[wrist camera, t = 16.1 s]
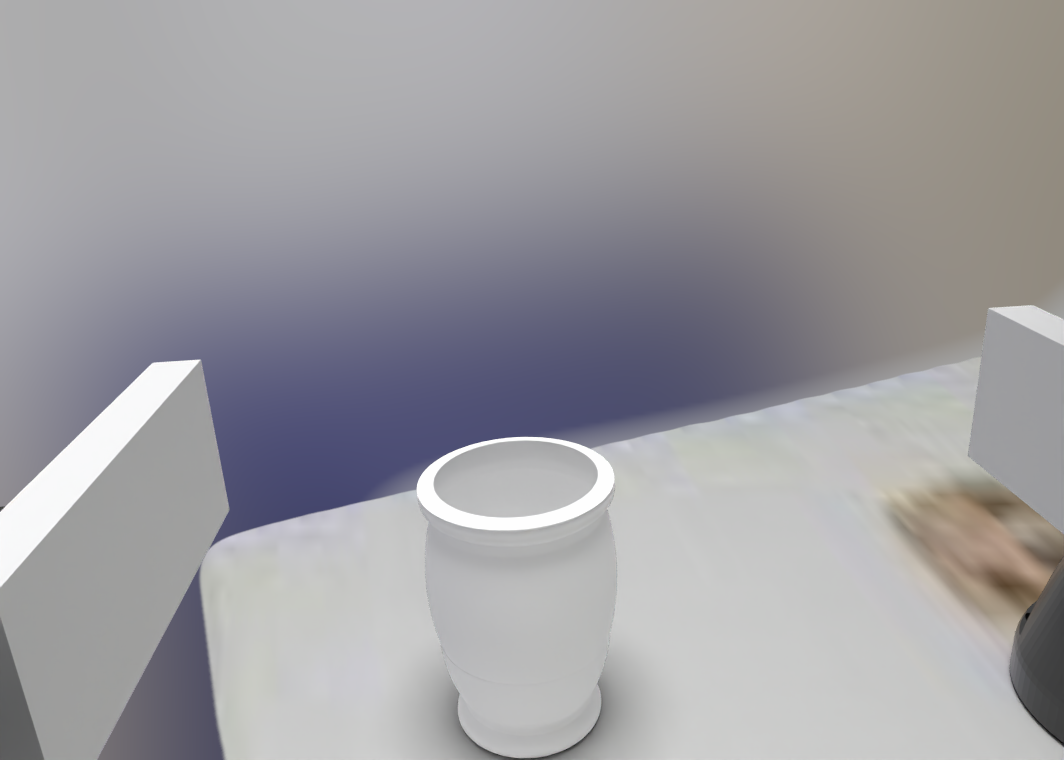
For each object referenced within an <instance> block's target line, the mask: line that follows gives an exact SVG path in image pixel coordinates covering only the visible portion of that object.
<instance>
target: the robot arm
mask: <svg viewBox="0 0 1064 760" xmlns="http://www.w3.org/2000/svg"><path fill="white" fill-rule="evenodd" d="M968 456H969V457H970V458H971V459H972V460H973V461H975V462H976V463H977V464H978V465H980V466H981V467H982V468H983V469H984V470H986V471H987V472H988V473H989V474H991V475H992V476H993V477H994V478H996V479H997V480H998V481H999V482H1000V483H1002V484H1003V485H1004V486H1005V487H1007V488H1008V489H1009V490H1010V491H1011V492H1013V493H1014V494H1015V495H1016V496H1018V497H1019V498H1020V499H1021V500H1023V501H1024V502H1025V503H1026V504H1027V505H1029V506H1030V507H1031V508H1032V509H1034V510H1035V511H1036V512H1037V513H1039V514H1040V515H1041V516H1042V517H1043V518H1045V519H1046V520H1047V521H1048V522H1050V523H1051V524H1052V525H1053V526H1054V527H1056V528H1057V529H1058V530H1059V531H1061V532H1062V533H1063V534H1064V319H1062V318H1059V317H1057V316H1055V315H1053V314H1051V313H1048V312H1046V311H1044V310H1042V309H1039V308H1037V307H1035V306H1033V305H1029V306H1014V307H999V308H988V314H987V321H986V329H985V336H984V343H983V350H982V358H981V365H980V372H979V379H978V386H977V394H976V401H975V408H974V415H973V423H972V430H971V437H970V444H969V451H968ZM228 511H229V505H228V500H227V495H226V489H225V484H224V479H223V474H222V468H221V463H220V458H219V453H218V447H217V442H216V437H215V431H214V426H213V421H212V416H211V410H210V405H209V400H208V395H207V389H206V385H205V379H204V374H203V368H202V363H201V360H191V361H175V362H159V363H152V364H151V365H150V366H149V367H148V368H147V369H146V370H145V372H143V373H142V374H141V375H140V376H139V377H138V378H137V379H136V380H135V381H134V382H133V383H132V384H131V385H130V386H129V387H128V388H127V389H126V390H125V391H124V392H123V393H122V394H121V395H120V396H119V397H118V398H116V399H115V400H114V401H113V402H112V403H111V404H110V405H109V406H108V407H107V408H106V409H105V410H104V411H103V412H102V413H101V414H100V415H99V416H98V417H97V418H96V419H95V420H94V421H93V422H92V423H91V424H90V425H89V426H88V427H87V428H86V429H85V430H84V431H83V432H82V433H81V434H80V435H78V436H77V437H76V438H75V439H74V440H73V441H72V442H71V443H70V444H69V445H68V446H67V447H66V448H65V449H64V450H63V451H62V452H61V453H60V454H59V455H58V456H57V457H56V458H55V459H54V460H53V461H52V462H51V463H50V464H49V465H48V466H47V467H46V468H45V469H44V470H43V471H42V472H41V473H39V474H38V475H37V476H36V477H35V478H34V479H33V481H31V482H30V483H29V484H28V485H27V486H26V487H25V488H24V489H23V490H22V491H21V492H20V493H19V494H18V495H17V496H16V497H15V498H14V499H13V500H12V501H11V502H10V503H9V504H8V505H7V506H6V507H0V760H97V759H98V757H99V755H100V753H101V751H102V749H103V747H104V746H105V744H106V742H107V740H108V738H109V736H110V734H111V732H112V730H113V729H114V727H115V725H116V723H117V720H118V719H119V717H120V715H121V713H122V711H123V710H124V708H125V706H126V704H127V702H128V700H129V698H130V696H131V694H132V693H133V691H134V689H135V687H136V685H137V683H138V681H139V679H140V678H141V676H142V674H143V672H144V670H145V668H146V666H147V664H148V662H149V661H150V659H151V657H152V655H153V653H154V651H155V649H156V647H157V645H158V644H159V642H160V640H161V638H162V636H163V634H164V632H165V630H166V629H167V626H168V625H169V623H170V621H171V619H172V617H173V615H174V613H175V612H176V610H177V608H178V606H179V604H180V602H181V600H182V598H183V596H184V595H185V593H186V591H187V589H188V587H189V585H190V583H191V581H192V579H193V578H194V576H195V574H196V572H197V570H198V568H199V566H200V564H201V562H202V561H203V559H204V557H205V555H206V553H207V551H208V549H209V547H210V545H211V544H212V542H213V540H214V538H215V536H216V534H217V532H218V530H219V528H220V527H221V524H222V523H223V521H224V519H225V517H226V515H227V513H228ZM1010 674H1011V679H1012V682H1013V685H1014V687H1015V689H1016V691H1017V693H1018V695H1019V697H1020V699H1021V700H1022V702H1023V703H1024V705H1025V706H1026V707H1027V708H1028V710H1029V711H1030V712H1031V713H1032V715H1033V716H1034V717H1035V718H1036V719H1037V720H1038V721H1039V722H1040V723H1041V724H1042V725H1043V726H1044V727H1045V728H1046V729H1047V730H1048V731H1050V732H1051V733H1052V734H1053V735H1054V736H1055V737H1057V738H1058V739H1059V740H1060V741H1062V742H1063V743H1064V556H1063V558H1062V559H1061V561H1060V562H1059V564H1058V566H1057V567H1056V569H1055V570H1054V572H1053V574H1052V575H1051V577H1050V579H1049V581H1048V583H1047V585H1046V586H1045V588H1044V590H1043V591H1042V593H1041V595H1040V597H1039V598H1038V600H1037V601H1036V602H1035V603H1034V604H1032V605H1031V606H1030V607H1029V608H1028V609H1027V611H1026V612H1025V613H1024V615H1023V616H1022V618H1021V619H1020V621H1019V624H1018V626H1017V629H1016V631H1015V636H1014V642H1013V648H1012V653H1011V659H1010Z"/></svg>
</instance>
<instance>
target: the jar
mask: <svg viewBox="0 0 1064 760" xmlns="http://www.w3.org/2000/svg"><path fill="white" fill-rule="evenodd" d="M614 491H615V481H614V472H613V469H612V467H611V466H610V464H609V463H608V462H607V460H606V459H605V458H603V457H602V456H601V455H600V454H598V453H596V452H595V451H593V450H591V449H589V448H587V447H584V446H582V445H579V444H576V443H572V442H568V441H564V440H558V439H550V438H540V437H515V438H504V439H496V440H490V441H485V442H481V443H476V444H473V445H469V446H466V447H463V448H461V449H458V450H455V451H453V452H451V453H449V454H447V455H445V456H443V457H442V458H440V459H438V460H437V461H435V462H434V463H432V464H431V465H430V466H429V467H428V468H427V469H426V470H425V471H424V473H423V474H422V475H421V477H420V479H419V481H418V484H417V495H418V504H419V507H420V510H421V512H422V514H423V515H424V517H425V518H426V520H427V521H428V528H427V535H426V546H425V578H426V589H427V596H428V602H429V607H430V612H431V616H432V620H433V623H434V626H435V629H436V632H437V635H438V638H439V640H440V644H441V649H442V654H443V657H444V661H445V664H446V667H447V670H448V672H449V675H450V677H451V679H452V681H453V683H454V685H455V687H456V688H457V690H458V692H459V693H460V695H459V699H458V717H459V721H460V723H461V726H462V728H463V729H464V731H465V732H466V734H467V735H468V736H469V737H470V738H471V739H472V740H473V741H474V742H475V743H476V744H478V745H479V746H481V747H483V748H484V749H486V750H488V751H490V752H493V753H496V754H499V755H502V756H507V757H513V758H536V757H543V756H548V755H551V754H555V753H558V752H561V751H563V750H565V749H567V748H569V747H571V746H573V745H574V744H576V743H577V742H579V741H580V740H581V739H583V738H584V737H585V736H586V735H587V734H588V733H589V732H590V730H591V729H592V728H593V726H594V725H595V723H596V721H597V719H598V717H599V714H600V710H601V693H600V689H599V686H598V684H597V682H598V680H599V678H600V676H601V673H602V670H603V667H604V664H605V661H606V657H607V652H608V646H609V639H610V631H611V627H612V622H613V616H614V610H615V603H616V593H617V559H616V549H615V541H614V535H613V529H612V525H611V520H610V517H609V513H608V510H607V508H608V507H609V505H610V503H611V501H612V499H613V496H614Z"/></svg>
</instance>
